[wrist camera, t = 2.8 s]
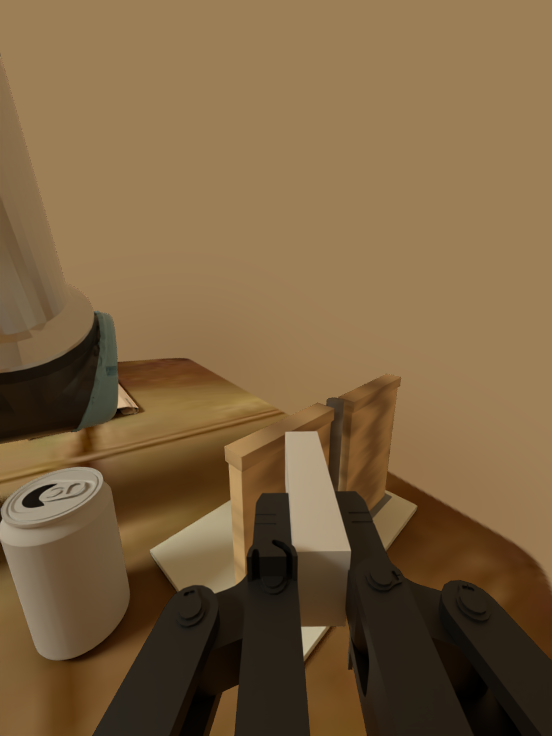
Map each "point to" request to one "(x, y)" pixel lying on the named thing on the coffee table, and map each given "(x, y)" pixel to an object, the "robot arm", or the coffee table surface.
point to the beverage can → (66, 560)
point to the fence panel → (275, 467)
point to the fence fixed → (367, 438)
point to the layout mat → (216, 556)
